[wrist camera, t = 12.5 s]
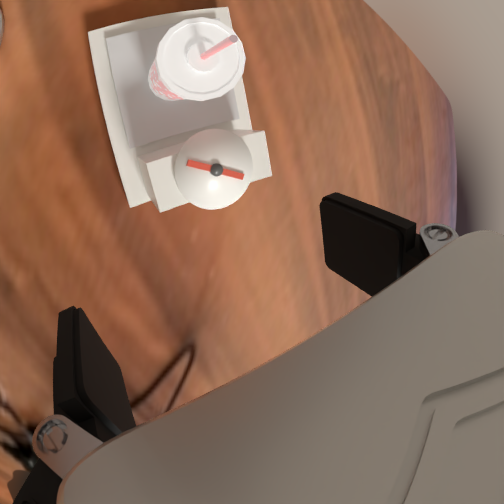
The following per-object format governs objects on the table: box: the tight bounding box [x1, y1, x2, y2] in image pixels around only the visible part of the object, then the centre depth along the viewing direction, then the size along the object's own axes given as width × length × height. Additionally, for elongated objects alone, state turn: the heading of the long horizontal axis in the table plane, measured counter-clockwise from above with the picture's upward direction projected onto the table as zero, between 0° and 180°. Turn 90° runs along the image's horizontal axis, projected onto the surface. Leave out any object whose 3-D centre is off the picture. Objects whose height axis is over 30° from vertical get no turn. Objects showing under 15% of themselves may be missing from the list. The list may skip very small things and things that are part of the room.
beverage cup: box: [148, 17, 245, 101], centre depth 19 cm, size 6×6×14 cm
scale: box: [88, 7, 272, 212], centre depth 24 cm, size 19×14×10 cm
